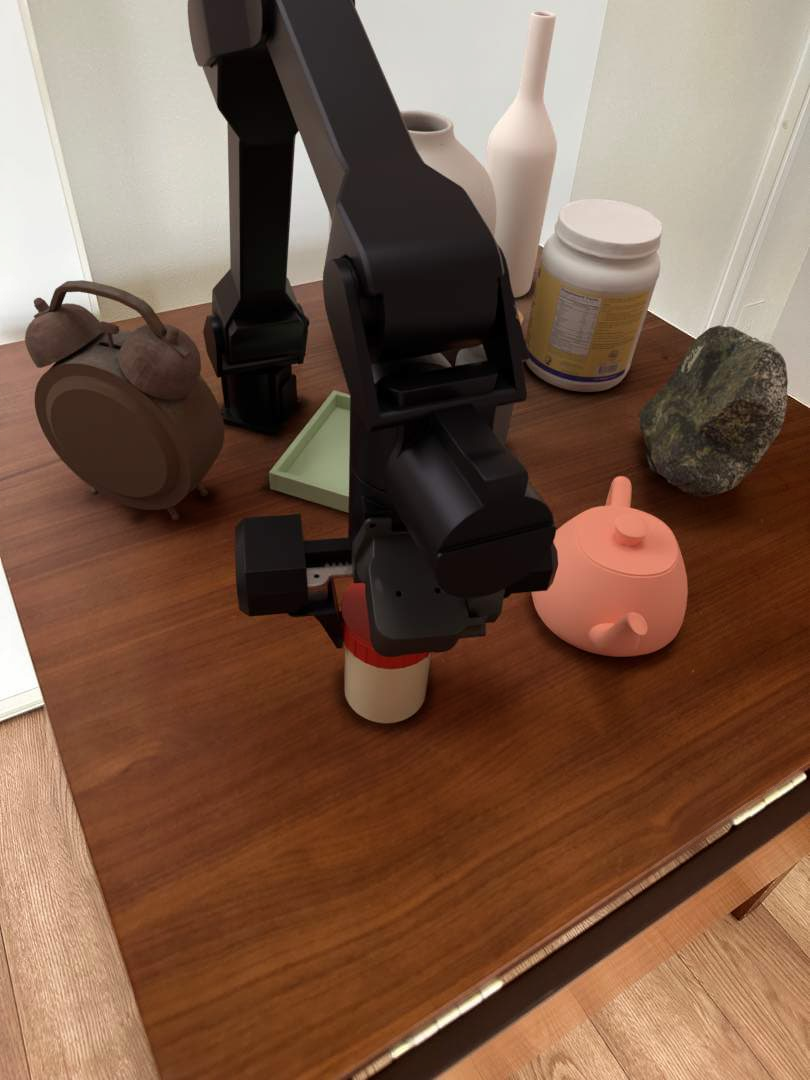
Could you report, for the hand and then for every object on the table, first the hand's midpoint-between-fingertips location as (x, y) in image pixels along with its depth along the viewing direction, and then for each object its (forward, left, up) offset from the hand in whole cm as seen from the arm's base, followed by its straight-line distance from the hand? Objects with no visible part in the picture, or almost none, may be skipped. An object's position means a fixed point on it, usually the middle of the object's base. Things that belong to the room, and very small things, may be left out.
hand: (388, 638), depth 52 cm
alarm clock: (-27, +11, -6) cm, 30 cm away
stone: (+18, +34, -6) cm, 39 cm away
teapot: (+14, +13, -6) cm, 20 cm away
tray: (-12, +23, -6) cm, 27 cm away
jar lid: (0, 0, +3) cm, 3 cm away
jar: (0, 0, -6) cm, 6 cm away
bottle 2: (-2, +29, -6) cm, 30 cm away
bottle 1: (-9, +64, -6) cm, 65 cm away
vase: (-15, +44, -6) cm, 47 cm away
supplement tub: (+4, +49, -6) cm, 50 cm away
